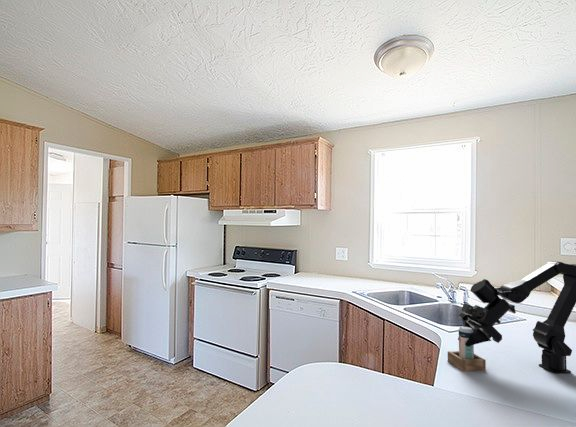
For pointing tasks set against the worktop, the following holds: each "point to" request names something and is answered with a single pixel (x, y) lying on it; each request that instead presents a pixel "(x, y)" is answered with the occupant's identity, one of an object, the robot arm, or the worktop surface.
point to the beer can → (463, 337)
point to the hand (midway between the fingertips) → (462, 342)
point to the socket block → (466, 362)
